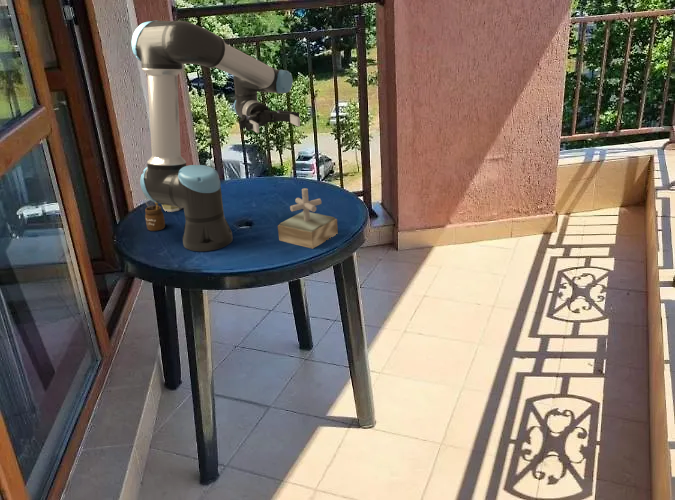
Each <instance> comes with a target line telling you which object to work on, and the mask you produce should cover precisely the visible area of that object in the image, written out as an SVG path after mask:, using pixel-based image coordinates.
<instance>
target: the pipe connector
mask: <svg viewBox="0 0 675 500" xmlns="http://www.w3.org/2000/svg"><path fill="white" fill-rule="evenodd" d="M301 197H302V198H300V197H296V198H295V200H294V201H295V203H296V204H292V205H290V206H289V209H290V211H291V212H296V211H300V210H302V212H303V213H304V221H310V213H309V212H312V213H315V212H317V206H319V205H322V204H323V203H322V200H321V198H316V199H312V200H309V199H310V198H309V189H308V188H302V189H301Z"/></svg>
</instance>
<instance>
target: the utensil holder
mask: <svg viewBox="0 0 675 500" xmlns="http://www.w3.org/2000/svg"><path fill="white" fill-rule="evenodd" d="M144 199H146V200H149V199H148V198H147V197H146V196H145V195H144ZM145 205H146V206H147V207H146V208H145V211H144V212H145V215H144V217H145V219H144V220H145V224H146V229H147V231H150V232H157V231H161V230H163V229H164V228H165V227H166V220H165V215H164V212H163V211H162V210H163V208H162V206H160V205H159V204H158V203H156V202H154V203H153V201H150V204H149V202H145Z"/></svg>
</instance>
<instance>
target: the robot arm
mask: <svg viewBox="0 0 675 500" xmlns="http://www.w3.org/2000/svg"><path fill="white" fill-rule="evenodd" d="M131 50H132V53H133V55H134V56H135V58H136V59H137V60H138V61H140V63H141V65H140V67H141V70H142V71H143V72H144V73H145V74H146V78H147V90H148V91H147V92H148V94H147V95H148V109H149V110H148V111H149V125H150V126H149V127H150V128H149V129H150V142H151V143H150V145H151V147H150V148H151V156H150V158H149V159H148V160H147V162H146V167H145V168H144V169H143V170H142V173H141V176H140V178H139V179H140V181H139V184H140V188H141V191H142V194H143V195H144V197H145V196H146V199H147V198H148V199H147V200H148V201H150V202H152V203H155V202H156V203H158V205H161V206H162V205H170V206H176V207H181V208H182V209H183V211H184V219H185V224H184V229H183V232H184V233H183V235H182V245H183V247H184V248H185V249H186V250H189V251H192V252H193V251H194V252H211V251H215V250H219V249H222V248H224V247H227V246H228V245H230V244H231V243H232V242H233V237H234V236H233V231H232V229H231V227H230V224H229V223H228V221H227V219H226V217H225V212H224V206H223V205H224V203H223V194H222V188H221V185H222V184H221V180H220V176H219V172H218V171H217V170H216V169H215V168H214V167H212V166H208V165H205V164H198V165H197V164H190V165H187V161H186V160H185V158H184V157H183V156H182V155H181V154H182V153H181V134H180V133H181V132H180V131H181V130H180V129H181V128H180V126H181V125H180V111H179V110H180V109H179V108H180V105H179V87H178V86H179V85H178V75H179V74H180V73H181V72H182V71H183V65H184V64H185V65H199V66H203V67H205V68H208V69H214V68H216V69H218V70H221V71H223V72H225V73H227V74H229V75H232V78H233V84H234V92H235V93H234V94H235V100H234V102H233V110H234V112H235V114H236V115H237V116H239V118H240V119H239V121H238V122H239V123H238V124H239V129H240V130H244V129H245V131H246V132H250V131H253V132H255V133H257V134H259V133H260V127H264V126H265V125H267V124H269V123H277V122H290V124H292V125H294V126H296V127H301V121H300V119H301V118H300V112H298V111H297V112H295V111H290V110H289V111H287V110H282V109H277V110H276V111H275V110H270V108H269V107H268V106H267V105H266V104H264V103H262V102H260V101H258V100H259V98H258V92H260V93H274V94H288V93H289V92H290V91H291V89H292V88H293V76H292V73H291V72H290V71H289V70H283V69H276V68H274V67H272V66H270V65H268V64H266V63H264V62H262V61H260V60H259V59H256V58H255V57H253V56H250V55H248V54H246V53H245V52H243V51H241V50H239V49H237V48H235V47H234V46H231V45H229V44H228V43H226V42H225V40H224V39H223V38H222V37H221V36H219V35H218V34H215V33H214V32H212V31H210V30H208V29H206V28H204V27H202V26H199V25H198V24H194V23H193V22H192V23H191V22H189V21H185V20H157V19H156V20H152V21H145V22H142V23H141V24H139V25H138V26H137V27H136V29H135V30H134V32H133V33H132V36H131Z"/></svg>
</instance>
